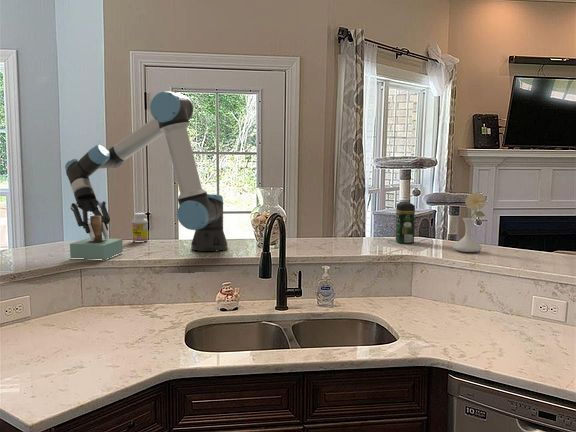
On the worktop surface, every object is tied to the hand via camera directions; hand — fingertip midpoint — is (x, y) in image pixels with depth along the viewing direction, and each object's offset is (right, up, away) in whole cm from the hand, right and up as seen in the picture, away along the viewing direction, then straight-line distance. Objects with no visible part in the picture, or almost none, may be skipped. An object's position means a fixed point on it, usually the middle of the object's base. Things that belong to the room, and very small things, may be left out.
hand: (100, 238), depth 207 cm
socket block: (-2, -7, +4) cm, 9 cm away
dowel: (-2, -5, +4) cm, 7 cm away
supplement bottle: (+5, -3, +38) cm, 38 cm away
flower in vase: (+147, -7, +19) cm, 148 cm away
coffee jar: (+125, -4, +41) cm, 131 cm away
